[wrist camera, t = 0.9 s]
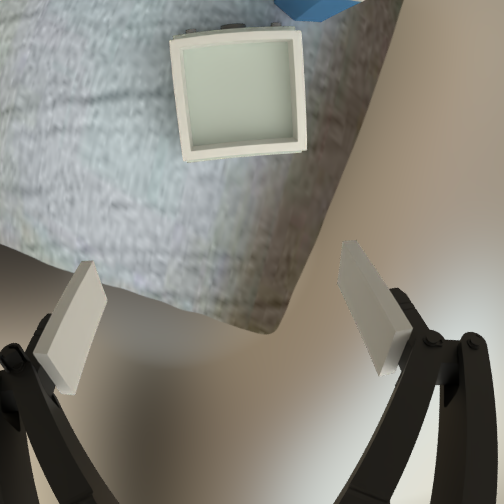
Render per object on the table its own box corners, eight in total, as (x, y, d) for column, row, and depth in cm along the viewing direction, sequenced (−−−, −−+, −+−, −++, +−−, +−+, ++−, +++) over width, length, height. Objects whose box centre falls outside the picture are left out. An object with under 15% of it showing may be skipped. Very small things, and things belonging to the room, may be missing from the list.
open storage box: (178, 35, 34) (167, 25, 27) (286, 26, 34) (300, 16, 27) (191, 153, 42) (184, 169, 35) (293, 144, 43) (307, 158, 36)
